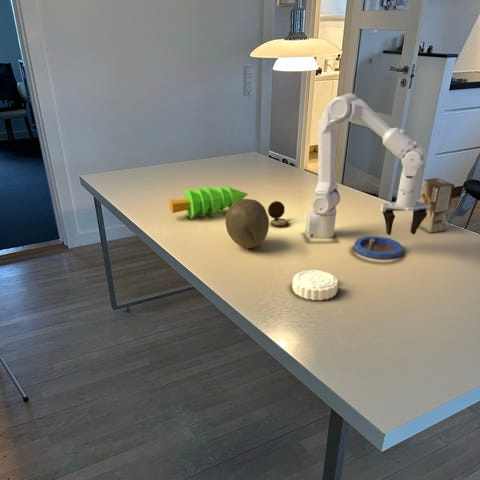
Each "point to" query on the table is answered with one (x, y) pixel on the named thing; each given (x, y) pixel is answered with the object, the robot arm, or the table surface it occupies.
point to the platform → (377, 248)
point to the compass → (277, 214)
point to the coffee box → (436, 203)
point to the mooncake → (315, 285)
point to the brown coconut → (247, 223)
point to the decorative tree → (206, 201)
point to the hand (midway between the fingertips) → (400, 233)
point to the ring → (378, 255)
